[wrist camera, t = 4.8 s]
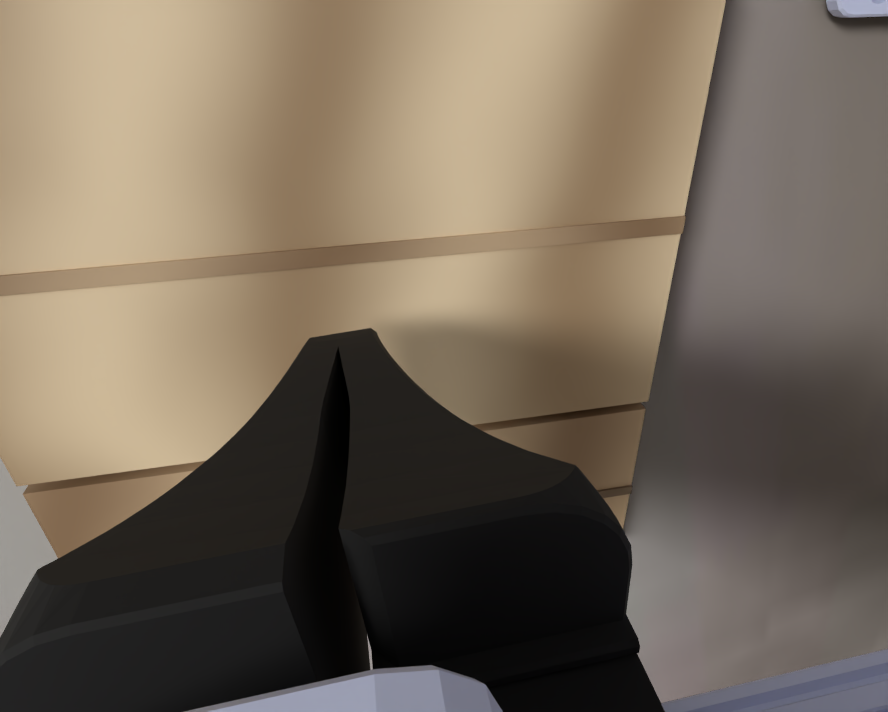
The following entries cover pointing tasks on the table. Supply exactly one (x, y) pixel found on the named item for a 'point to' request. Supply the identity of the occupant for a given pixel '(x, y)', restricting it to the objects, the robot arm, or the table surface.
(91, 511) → the laid floor strip
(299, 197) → the slatted wooden panel
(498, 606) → the robot arm
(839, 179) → the table surface
